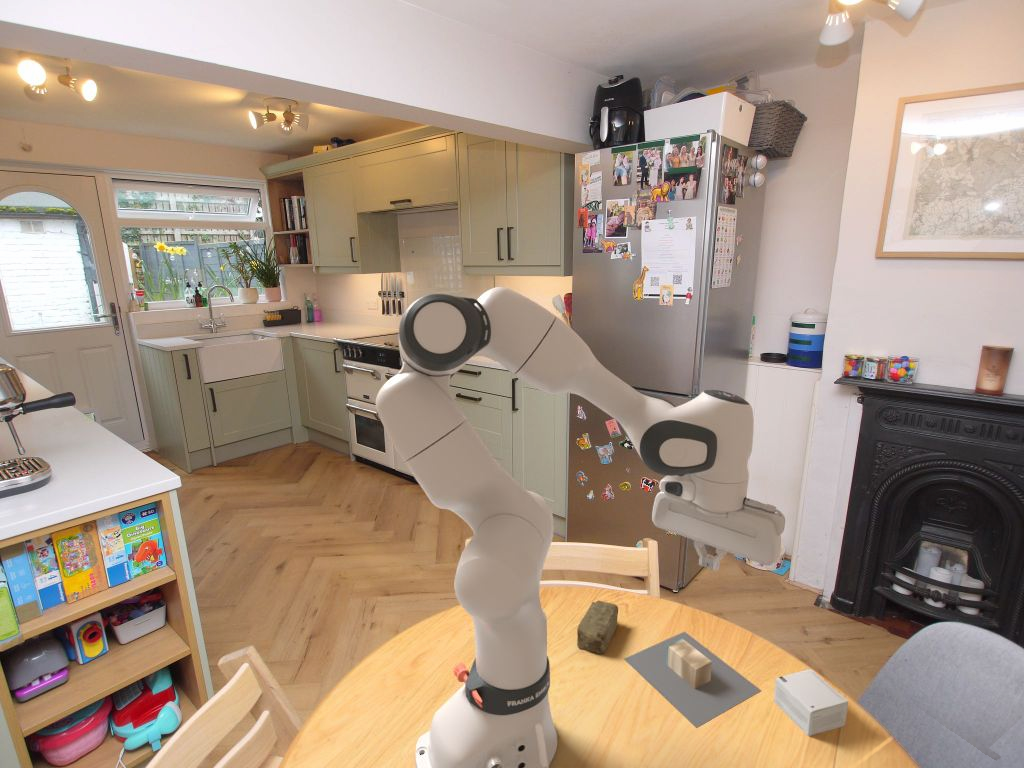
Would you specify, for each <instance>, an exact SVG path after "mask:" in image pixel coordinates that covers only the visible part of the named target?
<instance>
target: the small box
mask: <svg viewBox="0 0 1024 768" xmlns="http://www.w3.org/2000/svg"><path fill="white" fill-rule="evenodd" d="M773 695H774V696H773V702H774V703H775V704H776V705H777V706H778V707H779V709H781V711H783V712H784V714H785V715H787V717H789V719H790V720H791V721H792V722H793V723H794V724H795V725H796V726H797V727H798V728H799V729H800V730H801V731H802V732H803V733H804V734H805V735H806V736H808V737H811V736H814V735H818V734H822V733H824V732H825V733H826V732H828V731H832V730H835V729H839V728H842V727H844V726H846V723H847V716H848V715H847V713H848V707H849V700H848V699H847V698H846V697H845V696H843V695H842V693H840V692H839V691H837V690H836V689H835V688H834V687H833V686H832V685H830V684H829V683H828V682H827V681H825V680H824V679H823V678H822V677H821V676H820V675H819V674H818V673H817V672H816V671H814V670H813V669H812V668H810V669H805V670H801V671H797V672H793V673H789V674H786V675H782V676H778V677H776V678H775V684H774V694H773Z"/></svg>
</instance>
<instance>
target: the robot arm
mask: <svg viewBox="0 0 1024 768" xmlns="http://www.w3.org/2000/svg"><path fill="white" fill-rule="evenodd" d="M398 329H399V330H398V334H397V335H398V336H397V343H398V344H397V345H398V349H399V354H400V360H401V361H400V364H401V368H400V369H399V371H398V373H396V374H395V375H393V376H392V377H390V378H389V379H388V380H387V381H386V382H385V383H384V384H383V385H382V386H381V388H380V389H379V390H378V392H377V395H376V398H375V408H376V411H377V414H378V417H379V419H380V421H381V424H382V425H383V428H384V430H385V432H386V435H387V436H388V438H389V439H390V443H392V445H393V447H394V449H395V450H396V452H397V454H398V455H399V456H400V458H401V460H402V461H403V462H404V465H405V466H406V467H407V469H408V470H409V472H410V473H411V474H412V476H413V478H414V479H415V481H416V482H417V483H418V485H419V486H420V487H421V489H422V491H423V492H424V493H425V495H426V496H427V498H428V500H429V501H430V502H431V503H432V504H433V506H435V507H436V508H438V509H442V510H449V511H450V512H452V513H454V514H455V515H457V516H458V517H459V518H461V520H463V521H464V522H465V523H466V524H467V525H468V527H470V529H471V531H472V532H473V535H472V537H471V538H470V540H469V541H468V543H466V546H465V547H464V548H463V551H462V552H461V555H460V558H459V561H458V563H457V567H456V572H455V576H454V584H453V586H454V587H453V588H454V593H455V597H456V599H457V601H458V603H459V604H460V606H461V607H462V608H463V610H464V611H465V612H466V613H468V614H469V615H470V616H471V617H472V620H473V627H474V628H473V630H474V646H475V647H474V650H475V652H474V653H475V657H474V660H473V663H472V665H471V668H470V670H468V669H467V666H466V665H465V664H464V663H462V662H461V663H457V664H456V665H455V667H453V674H454V676H455V677H456V678H457V680H458V682H460V683H464V684H463V685H462V686H461V687H460V688H459V689H458V690H457V691H456V692H455V693H454V694H453V695H452V696H451V697H450V698H449V699H448V700H447V701H446V702H445V703H444V704H443V705H442V706H441V707H440V708H439V709H438V710H437V711H436V712H435V713H434V714H433V717H432V719H431V720H432V721H431V724H430V729H429V730H428V731H427V732H425V733H423V734H422V735H420V737H419V738H417V742H416V745H415V753H414V754H415V755H414V758H415V759H414V761H416V763H415V768H416V767H417V768H550V765H551V763H552V760H553V759H554V757H555V755H556V752H557V747H558V733H557V730H556V727H555V724H554V721H553V718H552V712H551V707H550V700H549V690H550V686H551V669H550V667H551V665H550V660H549V656H548V619H547V618H548V617H547V614H546V613H545V611H544V609H543V608H542V603H541V597H540V596H541V595H540V594H541V593H540V591H541V590H540V589H541V588H540V587H541V580H542V574H543V570H544V566H545V563H546V559H547V556H548V553H549V550H550V547H551V545H552V542H553V539H554V518H553V517H554V516H553V511H552V509H551V506H550V505H549V503H548V502H547V500H546V499H544V497H542V496H541V495H539V493H536V492H534V491H531V490H527V489H526V488H524V486H523V485H521V484H520V483H519V482H518V481H517V480H516V479H514V477H512V475H510V474H509V473H508V472H507V471H506V470H505V468H504V467H502V466H501V464H500V463H499V462H498V461H497V460H496V458H494V456H493V455H492V453H491V452H490V450H489V449H488V447H487V446H486V443H484V441H483V440H482V439H481V437H480V436H479V434H478V433H477V432H476V430H475V429H474V427H473V425H472V424H471V422H470V421H469V420H468V417H466V415H465V414H464V412H463V411H462V410H461V408H460V407H459V405H458V403H457V402H456V401H455V399H454V396H453V394H452V391H451V387H450V382H451V381H450V380H451V379H452V377H453V376H454V375H455V374H456V373H458V371H460V370H461V369H462V368H463V367H464V366H465V365H466V364H467V362H468V361H469V360H470V359H472V358H474V357H484V358H487V359H490V360H492V361H494V362H497V363H499V364H500V365H501V366H502V367H504V368H505V369H506V370H507V371H509V372H510V373H512V374H513V375H514V376H516V377H517V378H518V379H519V380H521V381H522V382H524V383H526V384H527V385H529V386H531V387H533V388H535V389H536V390H539V391H541V392H543V393H545V394H548V395H552V396H558V395H559V396H560V395H563V394H574V395H575V396H576V395H577V396H580V397H581V398H584V399H585V400H587V401H588V402H590V404H592V405H594V406H595V407H597V408H598V409H600V410H601V411H603V412H604V413H606V414H607V415H609V416H610V417H611V418H613V419H615V421H617V423H618V424H619V425H620V427H621V429H622V432H624V434H625V436H626V437H627V439H628V440H629V442H630V443H631V444H632V445H633V447H634V448H635V450H636V452H637V454H638V456H639V458H640V459H641V460H642V462H643V464H644V466H646V467H647V468H648V469H649V470H651V471H652V472H654V473H655V474H658V475H662V476H664V477H663V478H662V479H660V481H659V485H658V488H659V490H660V491H659V492H658V493H657V494H656V496H655V498H654V502H653V506H652V512H651V513H652V514H651V515H652V516H651V520H652V523H653V525H654V526H655V527H656V528H659V529H661V530H664V531H667V532H670V533H673V534H675V535H679V536H682V537H684V538H687V539H690V540H693V547H694V549H695V551H696V554H697V555H698V556H699V558H698V566H701V567H703V568H705V569H708V570H712V571H713V572H716V573H717V572H718V570H720V567H721V560H722V559H723V558H724V557H725V556H726V555H727V553H729V554H732V555H736V556H738V557H742V558H744V559H747V560H750V561H752V562H756V563H757V564H761V565H764V566H772V565H773V564H775V563H776V562H777V561H778V560H779V558H780V556H781V552H782V550H781V549H782V534H783V533H784V531H785V526H786V517H785V515H784V514H783V513H782V511H781V510H779V509H778V508H777V507H776V506H775V505H773V504H769V503H764V502H761V501H758V500H755V499H751V498H749V497H747V494H748V488H749V487H748V485H749V478H750V477H749V476H750V474H749V467H748V464H749V462H748V461H749V459H750V457H751V455H752V451H753V442H754V425H755V424H754V411H753V408H752V405H750V402H748V401H747V400H746V399H744V398H743V397H741V396H739V395H736V394H733V393H731V392H728V391H723V390H718V389H717V390H716V389H707V390H703V391H702V392H701V393H699V394H698V395H697V396H696V397H694V398H692V399H690V400H688V401H687V402H685V403H683V404H680V405H678V406H676V404H674V402H672V401H671V400H669V399H668V398H665V397H663V396H660V395H656V394H651V393H647V392H642V391H641V390H640V391H639V390H638V389H636V388H635V387H632V385H630V384H629V383H628V382H626V381H624V380H623V379H621V378H620V377H619V376H617V375H616V374H614V373H613V372H612V371H610V370H609V369H607V368H606V367H605V366H604V365H603V364H602V363H601V362H600V361H599V360H598V359H597V357H595V355H594V353H593V352H592V350H591V348H590V347H589V345H588V344H587V343H586V342H585V341H584V340H583V338H582V337H581V336H579V335H578V333H577V332H576V331H575V330H573V329H572V328H571V327H570V326H569V325H568V324H567V323H565V322H564V321H563V320H562V319H560V318H559V317H558V316H556V315H555V314H554V313H552V312H551V311H549V310H548V309H546V308H545V307H543V306H542V305H540V304H539V303H538V302H535V301H534V300H532V299H530V298H529V297H526V296H525V295H523V294H521V293H519V292H516V291H515V290H513V289H510V288H508V287H504V286H496V287H492V288H490V289H488V290H487V291H484V292H483V293H482V294H481V295H480V296H479V297H478V298H472V297H471V298H470V297H464V296H457V295H452V294H446V293H432V294H427V295H423V296H422V297H419V298H418V299H416V300H415V301H413V302H412V303H411V304H410V305H409V306H408V307H407V309H406V310H405V311H404V312H403V315H402V316H401V319H400V323H399V327H398ZM705 545H707V546H710V547H713V548H715V554H717V556H716V555H715V556H714V555H712V554H709V553H708V552H707V548H706V546H705ZM421 753H424V754H421ZM420 754H421V755H420Z"/></svg>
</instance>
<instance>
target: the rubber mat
mask: <svg viewBox="0 0 1024 768" xmlns="http://www.w3.org/2000/svg"><path fill="white" fill-rule="evenodd" d="M680 639H684V640H685V641H686V642H688V643H689V644H690V645H691V646H693V647H694V648H695V649H697V650H698V651H699V652H700V653H702V654H703V655H704V656H705V657H707V658H708V659H709V660H711V661H712V666H711V680H710V681H709V682H707V683H705V684H703V685H701V686H699V687H698V688H696V689H694V688H693V687H692V686H690V685H689V684H688V683H687V682H686V681H685V680H684V679H682V678H681V677H680V676H679V675H678V674H677V673H676V672H674V671H673V670H672V669H671V668H670V667H669V666H668V665H666V655H667V645H669V644H672V643H674V642H676V641H678V640H680ZM623 660H625V662H626V663H628V665H629V666H630V667H632V668H633V669H634V671H636V672H637V674H639V675H640V676H641V677H642V678H643V679H644V680H645V681H647V683H649V685H650V686H652V688H654V689H655V690H656V691H657V692H658V693H659V694H660V695H661V696H662V697H663V698H664V699H665V700H666V701H667V702H668V703H669V704H670V705H671V706H673V707H674V708H675V709H676V710H677V711H678V712H679V713H680V714H681V716H684V718H685V719H686V720H687V721H688V722H689V723H691V725H693V726H694V727H695V729H697V728H699V727H701V726H703V725H704V724H706V723H707V722H710V721H711V720H713V719H715V718H716V717H718V716H721V715H722V714H724V713H725V712H728V711H729V710H731V709H732V708H734V707H736V706H737V705H739V704H741V703H744V701H746V700H748V699H749V698H752V697H753V696H755V695H757V694H759V693H760V692H762V689H760V688H759V687H758V686H756V685H755V684H754V683H752V682H751V681H750V680H748V679H747V678H746V677H744V676H743V675H742V674H741V673H740V672H738V671H737V670H735V669H734V668H733V667H731V666H730V665H729V664H727V663H726V662H725V661H724V660H722V659H721V658H720V657H719V656H718V655H716V654H715V653H713V652H712V651H711V650H709V649H708V648H707V647H705V646H704V645H703V644H701V643H700V642H699V641H698V640H696V639H695V638H694V637H692V636H691V635H690V634H688V633H687V632H686V631H683V632H681V633H678V634H676V635H674V636H671V637H669V638H667V639H665V640H663V641H660V642H658V643H655V644H654V645H652V646H651V645H650V647H647V648H645V649H642V650H640V651H637V652H635V653H634V654H631V655H630V656H629V655H628V656H627V657H624V658H623Z"/></svg>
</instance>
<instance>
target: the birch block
mask: <svg viewBox="0 0 1024 768" xmlns="http://www.w3.org/2000/svg"><path fill="white" fill-rule="evenodd" d="M666 665H668V666H669V667H670V668H671V669H672V670H673V671H674V672H676V673H677V674H678V675H679V676H680V677H681V678H682V679H684V680H685V681H686V682H687V683H688V684H689V685H690V686H692V687H693V688H694V689H696V688H698V687H699V686H701V685H703V684H705V683H707V682H709V681H710V680H711V666H712V661H711V660H709V659H708V658H707V657H705V656H704V655H703V654H702V653H700V652H699V651H698V650H697V649H695V648H694V647H693V646H691V645H690V644H689V643H688V642H686V641H685V640H684V639H680V640H678V641H676V642H674V643H672V644H669V645H667V655H666Z"/></svg>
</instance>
